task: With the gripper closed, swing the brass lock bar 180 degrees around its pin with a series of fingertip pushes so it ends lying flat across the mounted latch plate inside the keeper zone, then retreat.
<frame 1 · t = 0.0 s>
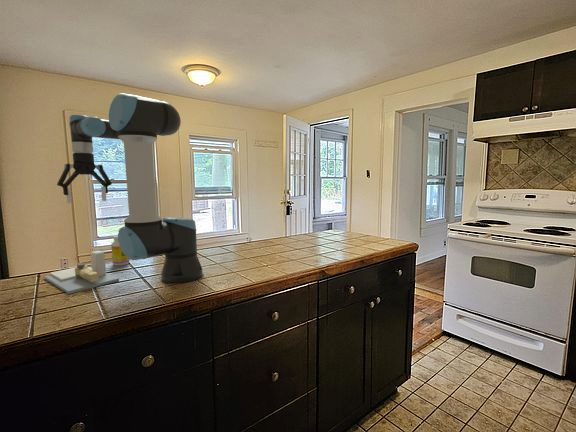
hand: (87, 201, 132), 28 cm above the table, fingers open, 13 cm apart
supplement bottle: (121, 264, 135), on the table
mounted latch plate: (82, 280, 113), on the table
lock bar: (86, 273, 110), point 4 cm above the table, hinge at 180.0°
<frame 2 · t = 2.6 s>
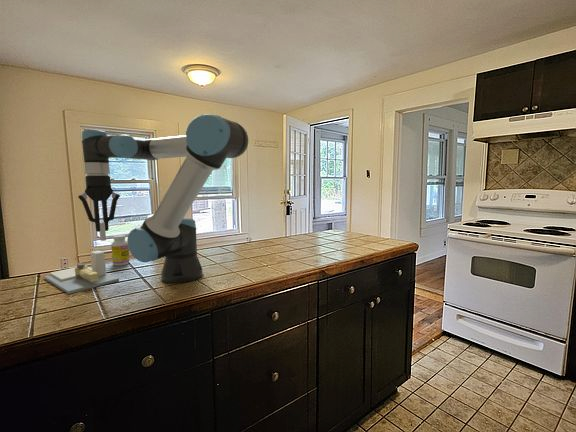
hand: (103, 239, 110), 16 cm above the table, fingers closed
nothing on the table moved.
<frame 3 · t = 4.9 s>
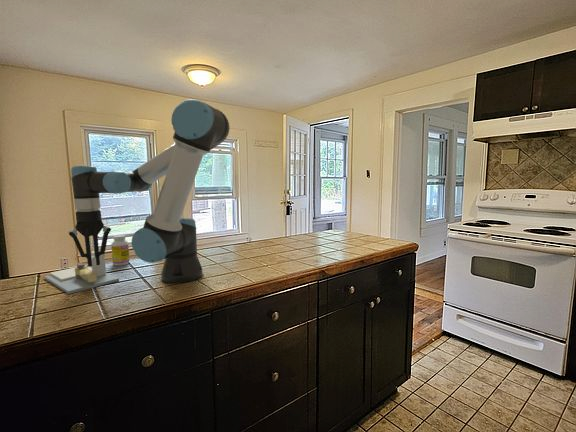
hand: (94, 274, 109), 3 cm above the table, fingers closed
lock bar: (85, 273, 109), point 4 cm above the table, hinge at 177.2°, touching gripper
everything else where it was.
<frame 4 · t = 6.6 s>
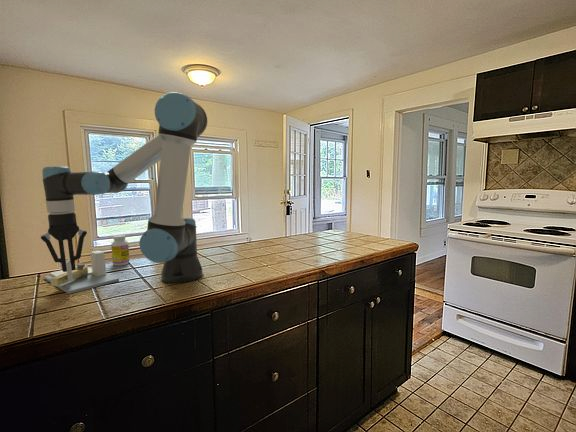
hand: (70, 279, 104), 3 cm above the table, fingers closed
lock bar: (70, 275, 108), point 4 cm above the table, hinge at 122.4°, touching gripper
everything else where it was.
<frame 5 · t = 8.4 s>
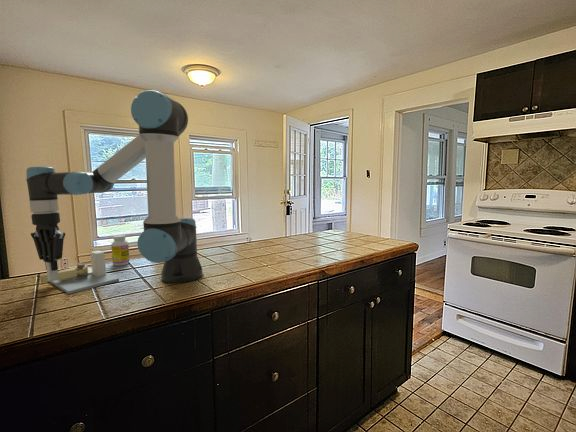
hand: (53, 279, 105), 3 cm above the table, fingers closed
lock bar: (65, 274, 109), point 4 cm above the table, hinge at 79.6°, touching gripper
everything else where it was.
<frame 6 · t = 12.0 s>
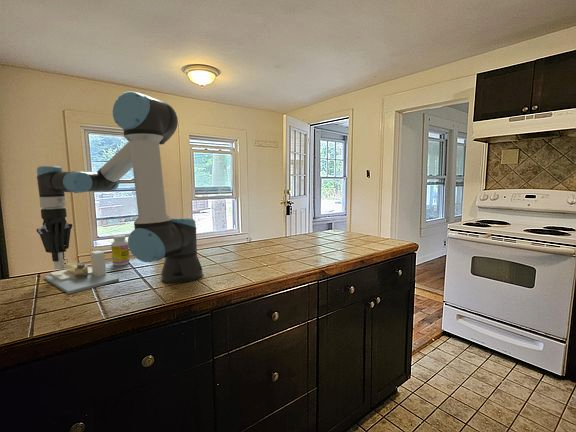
hand: (59, 268, 115), 4 cm above the table, fingers closed
lock bar: (76, 269, 115), point 4 cm above the table, hinge at 1.6°
everything else where it was.
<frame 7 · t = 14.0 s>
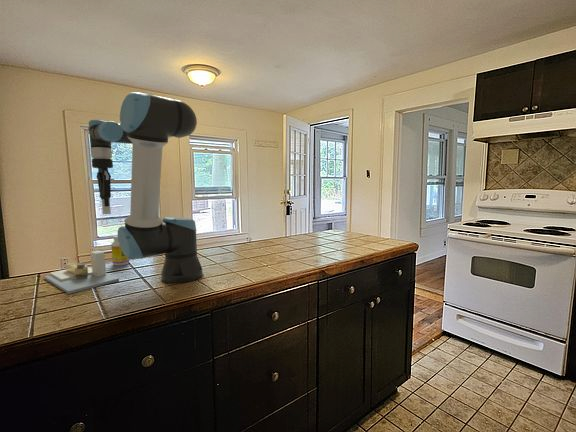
hand: (106, 213, 129), 23 cm above the table, fingers closed
nothing on the table moved.
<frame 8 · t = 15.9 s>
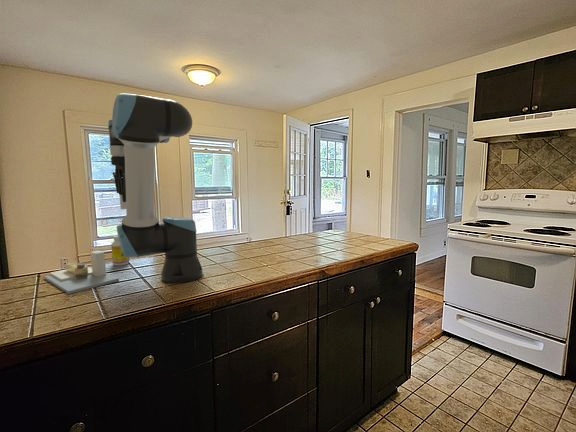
hand: (124, 209, 136), 24 cm above the table, fingers closed
nothing on the table moved.
at the end: lock bar at +2° (first picture: +180°) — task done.
